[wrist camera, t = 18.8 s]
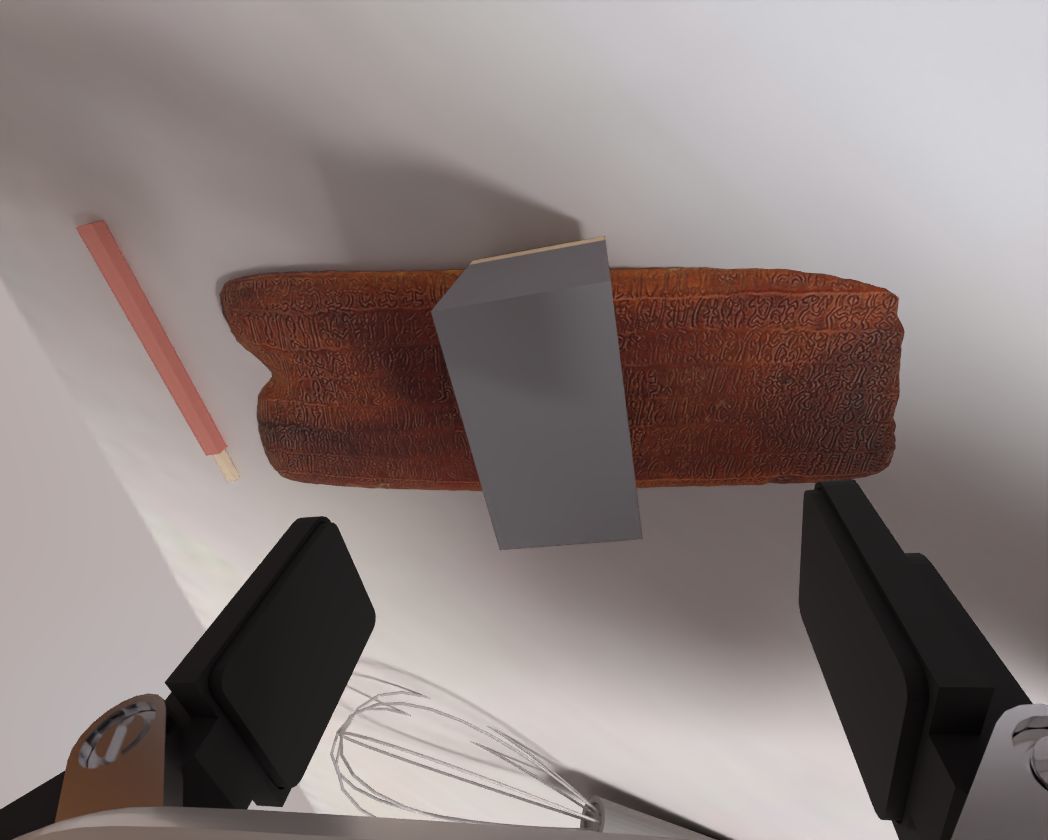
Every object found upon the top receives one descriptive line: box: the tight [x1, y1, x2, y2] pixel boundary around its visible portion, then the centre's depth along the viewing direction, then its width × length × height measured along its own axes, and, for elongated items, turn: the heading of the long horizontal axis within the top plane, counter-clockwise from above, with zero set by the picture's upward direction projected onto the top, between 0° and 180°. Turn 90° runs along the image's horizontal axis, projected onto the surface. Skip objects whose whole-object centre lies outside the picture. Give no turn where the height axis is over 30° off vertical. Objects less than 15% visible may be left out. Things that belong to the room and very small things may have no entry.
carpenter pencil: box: [76, 221, 239, 482], centre depth 23 cm, size 1×12×1 cm, turn 11°
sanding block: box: [431, 236, 642, 550], centre depth 17 cm, size 4×8×6 cm, turn 12°
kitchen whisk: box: [330, 691, 716, 840], centre depth 33 cm, size 6×34×6 cm, turn 59°
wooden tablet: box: [220, 267, 904, 491], centre depth 21 cm, size 27×10×2 cm, turn 93°
